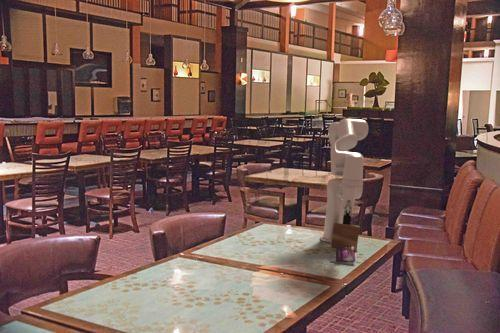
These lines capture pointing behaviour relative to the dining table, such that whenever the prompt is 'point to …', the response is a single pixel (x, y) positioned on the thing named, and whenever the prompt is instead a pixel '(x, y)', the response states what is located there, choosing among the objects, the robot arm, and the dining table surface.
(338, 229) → the screen
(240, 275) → the dining table surface
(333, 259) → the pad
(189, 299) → the dining table surface
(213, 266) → the dining table surface
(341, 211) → the robot arm
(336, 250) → the pink radish toy
